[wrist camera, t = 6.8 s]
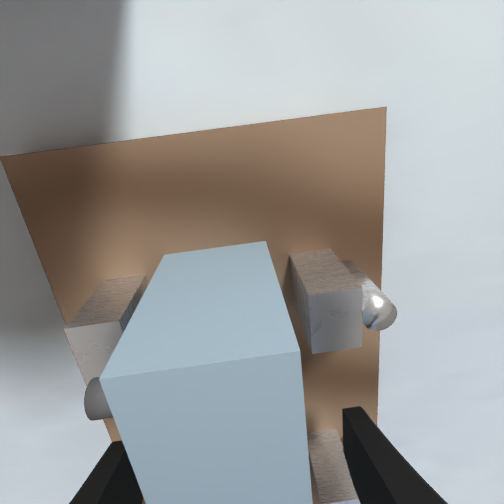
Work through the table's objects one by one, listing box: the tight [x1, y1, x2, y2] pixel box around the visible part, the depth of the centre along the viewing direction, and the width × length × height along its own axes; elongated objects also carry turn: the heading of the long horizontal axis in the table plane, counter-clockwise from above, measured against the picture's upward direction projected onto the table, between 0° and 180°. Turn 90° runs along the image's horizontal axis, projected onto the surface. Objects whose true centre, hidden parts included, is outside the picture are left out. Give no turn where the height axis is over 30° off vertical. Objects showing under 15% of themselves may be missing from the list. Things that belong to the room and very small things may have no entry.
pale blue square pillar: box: [84, 241, 313, 504], centre depth 11 cm, size 12×5×6 cm, turn 8°
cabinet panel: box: [0, 107, 387, 504], centre depth 14 cm, size 20×12×1 cm, turn 8°
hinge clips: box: [64, 249, 397, 504], centre depth 12 cm, size 11×9×3 cm
